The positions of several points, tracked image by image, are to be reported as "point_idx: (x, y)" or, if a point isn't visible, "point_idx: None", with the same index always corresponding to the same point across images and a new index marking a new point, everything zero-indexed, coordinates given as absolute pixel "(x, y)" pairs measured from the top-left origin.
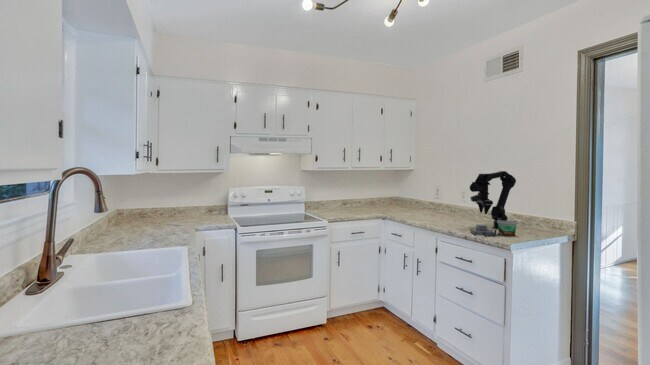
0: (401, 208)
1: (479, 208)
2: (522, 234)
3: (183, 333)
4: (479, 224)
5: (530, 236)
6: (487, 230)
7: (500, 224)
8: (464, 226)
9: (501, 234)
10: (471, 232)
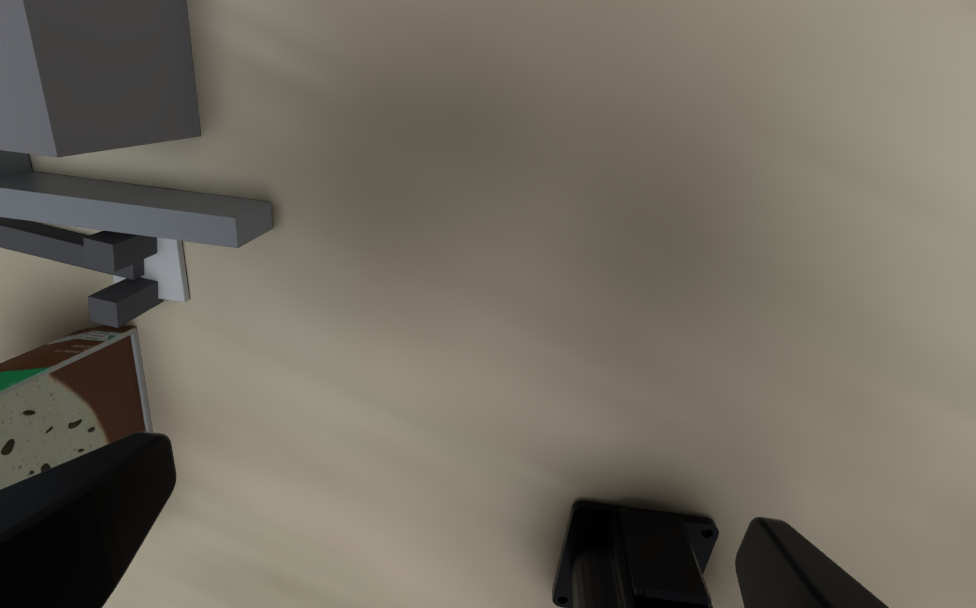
0: None
1: None
2: (216, 586)
3: None
4: (6, 7)
5: (115, 597)
6: (166, 204)
7: None
8: (968, 31)
9: (66, 336)
10: None
